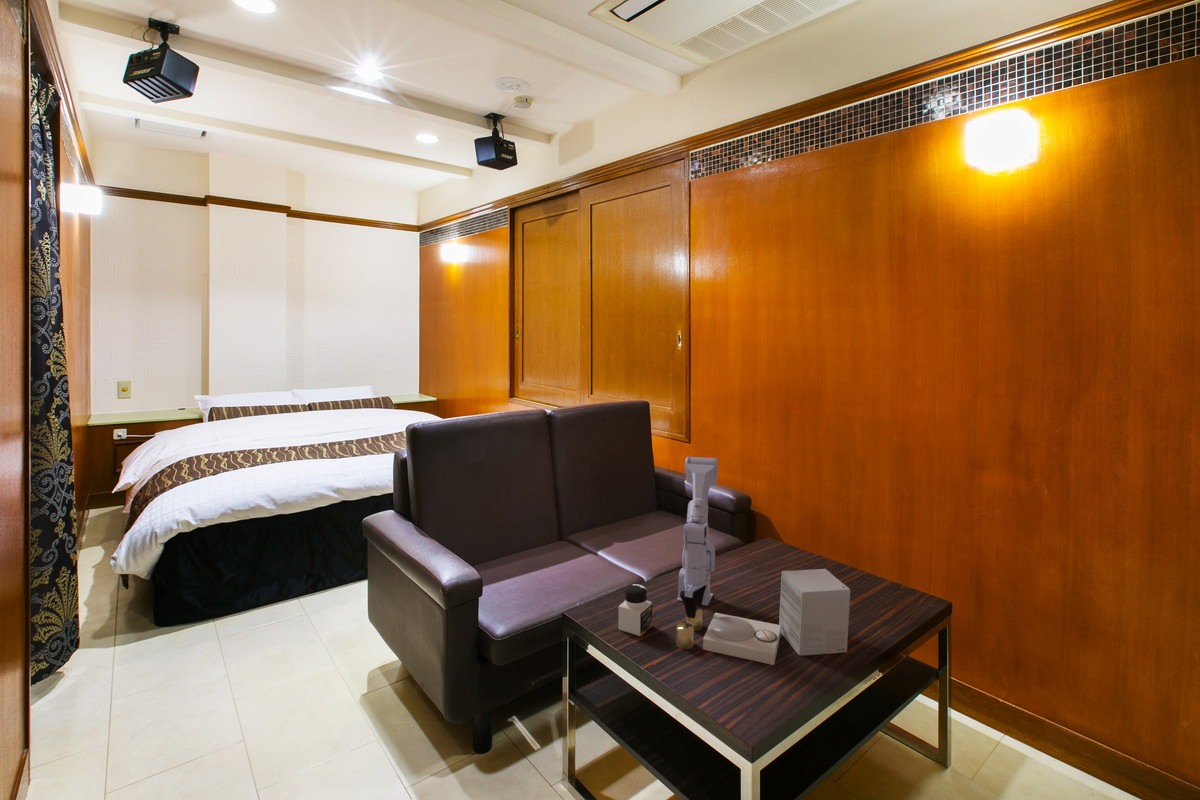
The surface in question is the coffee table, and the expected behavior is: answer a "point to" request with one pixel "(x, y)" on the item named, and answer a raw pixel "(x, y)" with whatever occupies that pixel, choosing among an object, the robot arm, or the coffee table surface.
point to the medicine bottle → (635, 611)
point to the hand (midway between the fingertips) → (694, 611)
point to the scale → (743, 638)
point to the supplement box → (814, 611)
